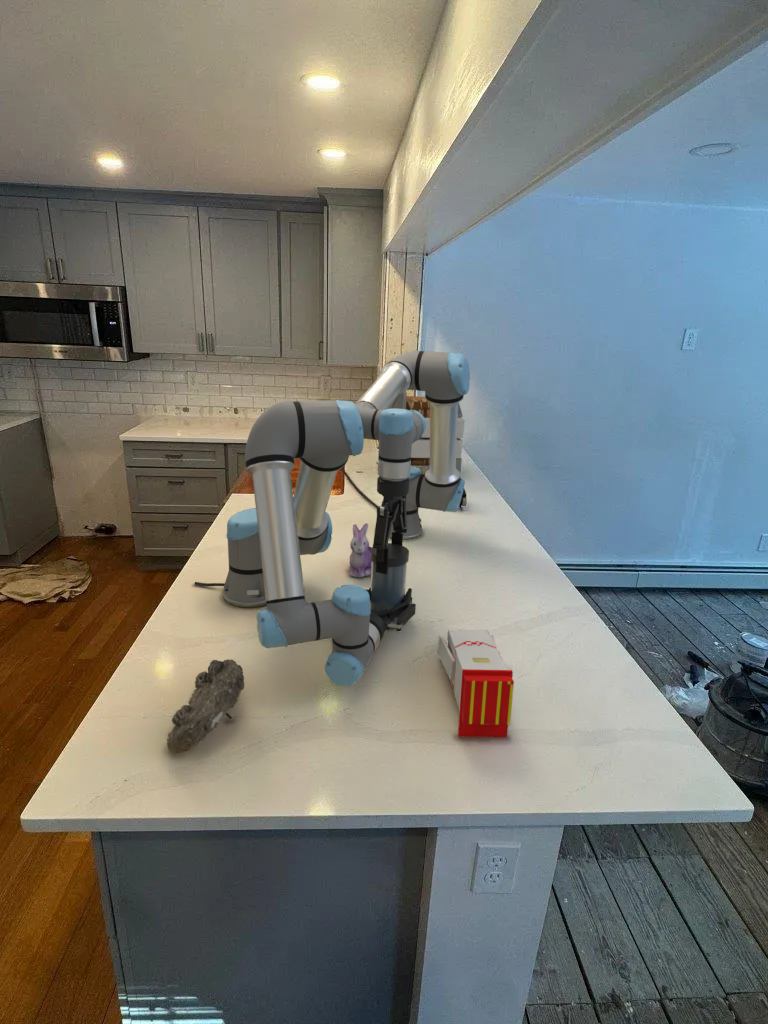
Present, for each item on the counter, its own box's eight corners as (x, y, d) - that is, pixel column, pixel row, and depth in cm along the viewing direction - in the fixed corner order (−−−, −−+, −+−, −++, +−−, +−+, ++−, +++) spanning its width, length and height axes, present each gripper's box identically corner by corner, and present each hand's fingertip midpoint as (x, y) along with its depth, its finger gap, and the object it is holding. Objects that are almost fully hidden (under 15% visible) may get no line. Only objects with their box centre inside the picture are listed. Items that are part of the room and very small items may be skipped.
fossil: (192, 660, 117) (244, 628, 112) (224, 691, 120) (276, 661, 115) (142, 746, 98) (202, 712, 93) (182, 779, 101) (242, 748, 96)
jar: (362, 618, 144) (364, 551, 138) (386, 607, 150) (389, 542, 144) (386, 632, 139) (389, 562, 132) (410, 620, 145) (414, 553, 138)
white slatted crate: (382, 463, 289) (386, 382, 275) (445, 464, 293) (451, 384, 279) (390, 482, 257) (394, 392, 243) (460, 483, 261) (468, 394, 247)
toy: (488, 613, 130) (523, 677, 101) (484, 667, 133) (517, 744, 104) (435, 612, 130) (455, 676, 101) (432, 666, 133) (451, 743, 103)
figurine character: (467, 515, 225) (461, 499, 238) (469, 498, 221) (463, 482, 235) (450, 514, 224) (445, 498, 238) (452, 497, 221) (447, 482, 234)
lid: (362, 557, 139) (362, 549, 138) (389, 548, 145) (389, 540, 144) (389, 570, 132) (389, 562, 132) (416, 560, 139) (416, 551, 138)
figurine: (354, 581, 164) (356, 533, 159) (340, 567, 172) (341, 520, 167) (383, 575, 168) (386, 528, 163) (368, 562, 176) (370, 516, 171)
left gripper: (320, 639, 130) (353, 595, 151) (410, 658, 125) (432, 610, 145) (320, 610, 128) (353, 570, 148) (412, 628, 122) (434, 583, 143)
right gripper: (395, 464, 143) (390, 545, 150) (359, 486, 123) (356, 579, 131) (423, 468, 140) (417, 551, 148) (391, 492, 121) (387, 586, 128)
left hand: (392, 589), depth 147 cm, fingers closed on jar, 9 cm apart
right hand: (389, 564), depth 139 cm, fingers closed on lid, 9 cm apart
